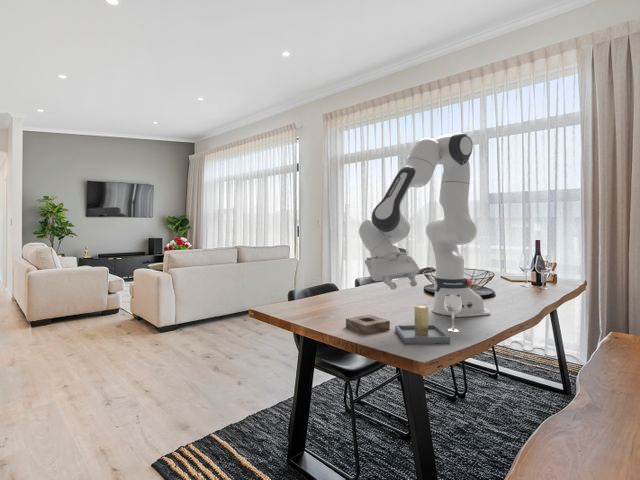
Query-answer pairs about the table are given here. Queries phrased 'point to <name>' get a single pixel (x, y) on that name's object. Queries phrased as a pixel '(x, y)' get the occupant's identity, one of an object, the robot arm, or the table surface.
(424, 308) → the yellow rectangular block
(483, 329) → the table surface
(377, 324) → the block
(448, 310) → the wineglass
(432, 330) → the tray
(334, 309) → the table surface
